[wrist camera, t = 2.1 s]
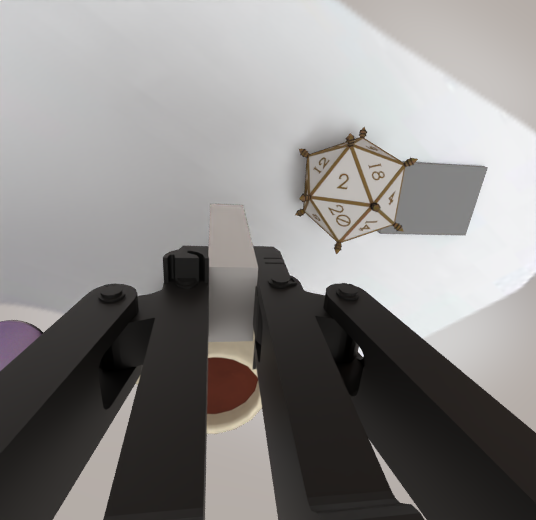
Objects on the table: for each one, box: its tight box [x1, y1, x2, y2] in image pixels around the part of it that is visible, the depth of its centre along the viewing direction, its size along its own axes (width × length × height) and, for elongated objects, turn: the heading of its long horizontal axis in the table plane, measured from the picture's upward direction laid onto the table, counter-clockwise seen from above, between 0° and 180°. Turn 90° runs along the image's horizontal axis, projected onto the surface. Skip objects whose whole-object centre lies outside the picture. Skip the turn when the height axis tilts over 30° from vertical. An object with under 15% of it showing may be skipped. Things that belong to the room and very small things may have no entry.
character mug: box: [136, 333, 262, 434], centre depth 29 cm, size 11×7×13 cm, turn 88°
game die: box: [295, 127, 418, 254], centre depth 27 cm, size 9×8×10 cm
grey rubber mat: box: [378, 162, 488, 235], centre depth 34 cm, size 9×7×1 cm
